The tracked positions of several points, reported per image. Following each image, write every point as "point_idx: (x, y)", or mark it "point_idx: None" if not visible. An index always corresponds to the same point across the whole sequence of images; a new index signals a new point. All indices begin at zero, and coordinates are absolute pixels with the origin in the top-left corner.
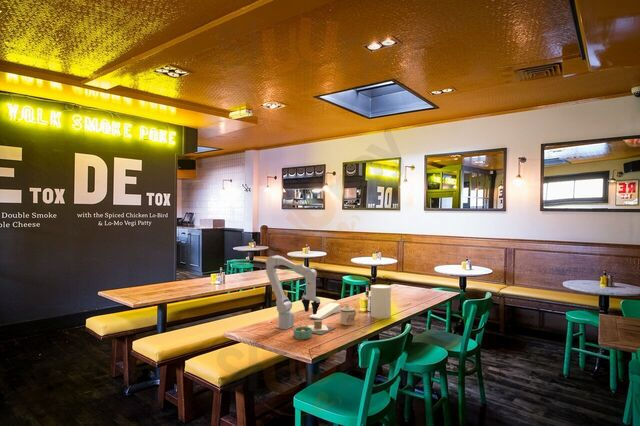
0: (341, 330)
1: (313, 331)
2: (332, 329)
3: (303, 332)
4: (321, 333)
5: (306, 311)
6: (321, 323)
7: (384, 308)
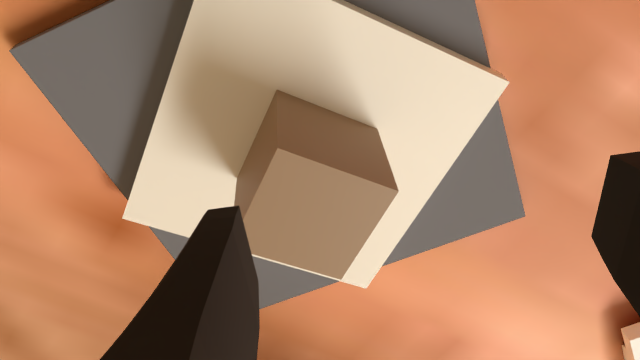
0: None
1: (193, 8)
2: None
3: None
4: (52, 74)
5: (608, 181)
6: None
7: None
